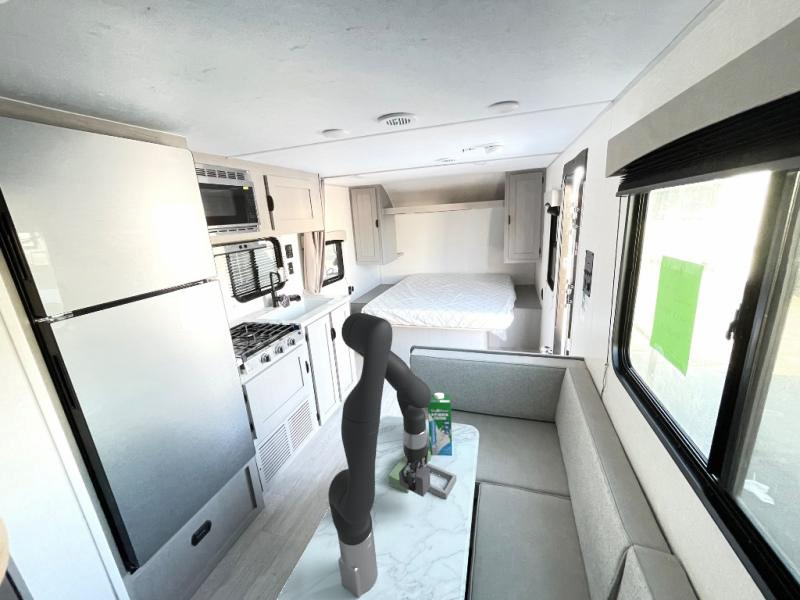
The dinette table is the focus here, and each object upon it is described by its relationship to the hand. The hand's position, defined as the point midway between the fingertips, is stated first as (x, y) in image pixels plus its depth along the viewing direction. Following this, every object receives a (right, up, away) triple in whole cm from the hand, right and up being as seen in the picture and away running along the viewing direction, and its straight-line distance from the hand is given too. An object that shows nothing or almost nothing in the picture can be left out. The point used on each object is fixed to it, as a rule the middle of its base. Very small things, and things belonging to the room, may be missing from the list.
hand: (416, 483), depth 103 cm
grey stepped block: (0, -1, +1) cm, 1 cm away
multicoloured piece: (+4, -6, +15) cm, 17 cm away
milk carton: (+12, -2, +29) cm, 32 cm away
